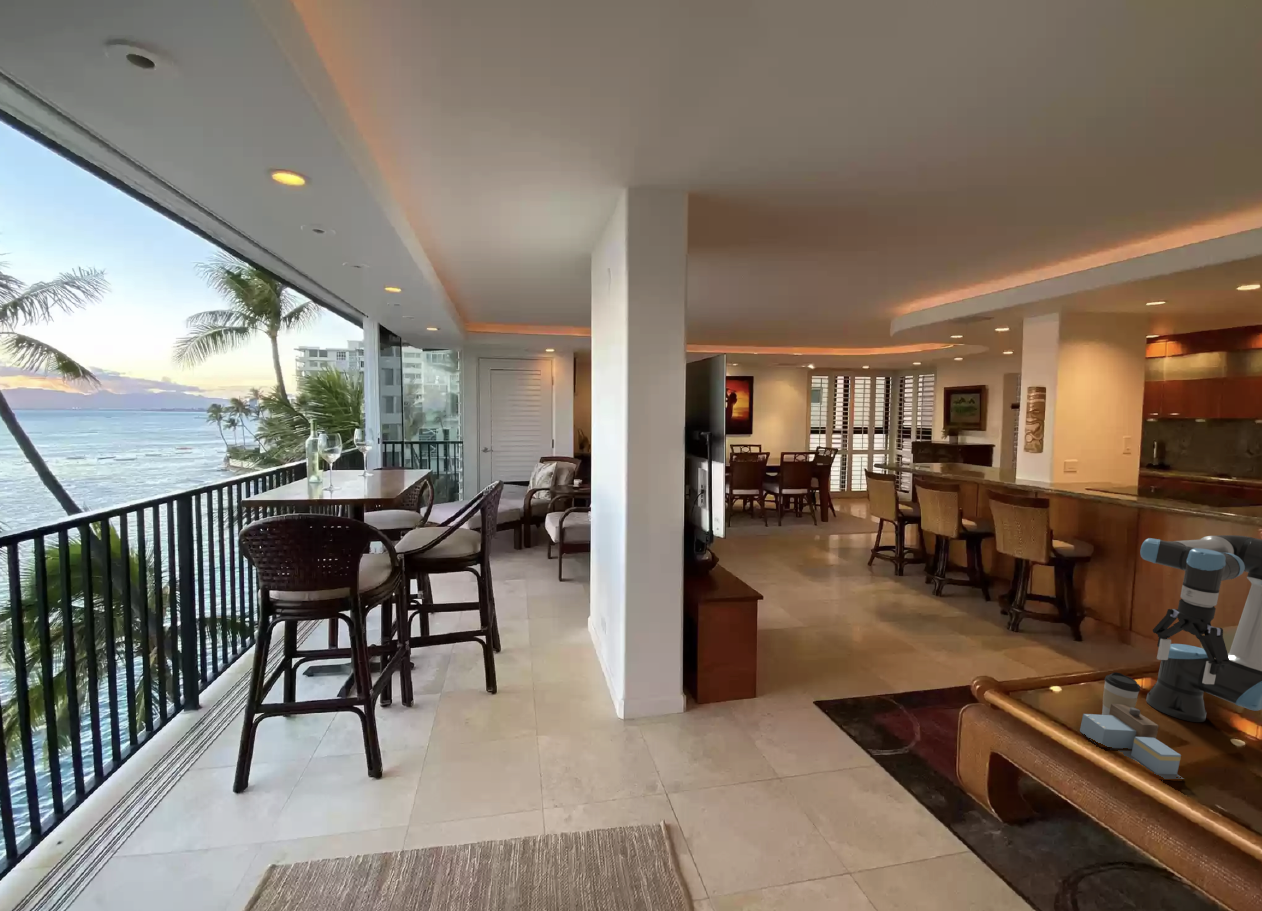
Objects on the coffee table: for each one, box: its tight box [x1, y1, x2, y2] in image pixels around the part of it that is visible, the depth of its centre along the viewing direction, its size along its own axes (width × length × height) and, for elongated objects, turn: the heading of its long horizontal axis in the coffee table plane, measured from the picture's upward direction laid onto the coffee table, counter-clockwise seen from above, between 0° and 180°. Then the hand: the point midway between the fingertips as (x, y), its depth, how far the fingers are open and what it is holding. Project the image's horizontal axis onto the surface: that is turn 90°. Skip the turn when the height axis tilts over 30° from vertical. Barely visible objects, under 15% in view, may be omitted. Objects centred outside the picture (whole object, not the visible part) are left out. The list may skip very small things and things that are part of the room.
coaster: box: [1117, 749, 1184, 779], centre depth 165 cm, size 12×12×1 cm
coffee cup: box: [1101, 671, 1141, 715], centre depth 189 cm, size 9×9×15 cm
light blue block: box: [1131, 737, 1182, 774], centre depth 165 cm, size 6×8×6 cm
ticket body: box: [1079, 713, 1136, 750], centre depth 177 cm, size 14×8×6 cm, turn 92°
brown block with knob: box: [1109, 704, 1160, 739], centre depth 177 cm, size 5×11×11 cm, turn 2°
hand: (1184, 671), depth 167 cm, fingers open, 13 cm apart
